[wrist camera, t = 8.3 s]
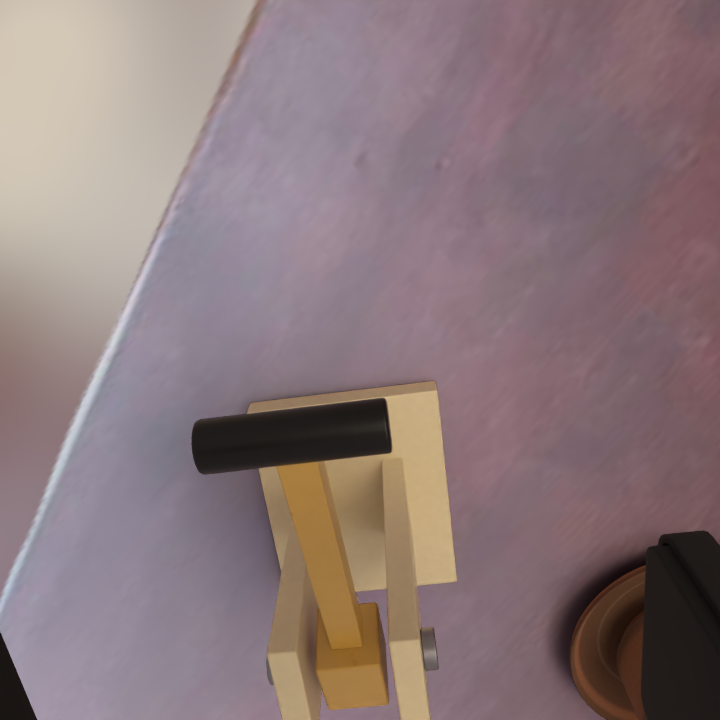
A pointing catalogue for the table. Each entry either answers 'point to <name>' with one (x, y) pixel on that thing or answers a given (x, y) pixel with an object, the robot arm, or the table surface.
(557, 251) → the table surface
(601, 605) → the cup and saucer
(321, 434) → the lever
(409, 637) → the bracket
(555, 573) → the table surface
